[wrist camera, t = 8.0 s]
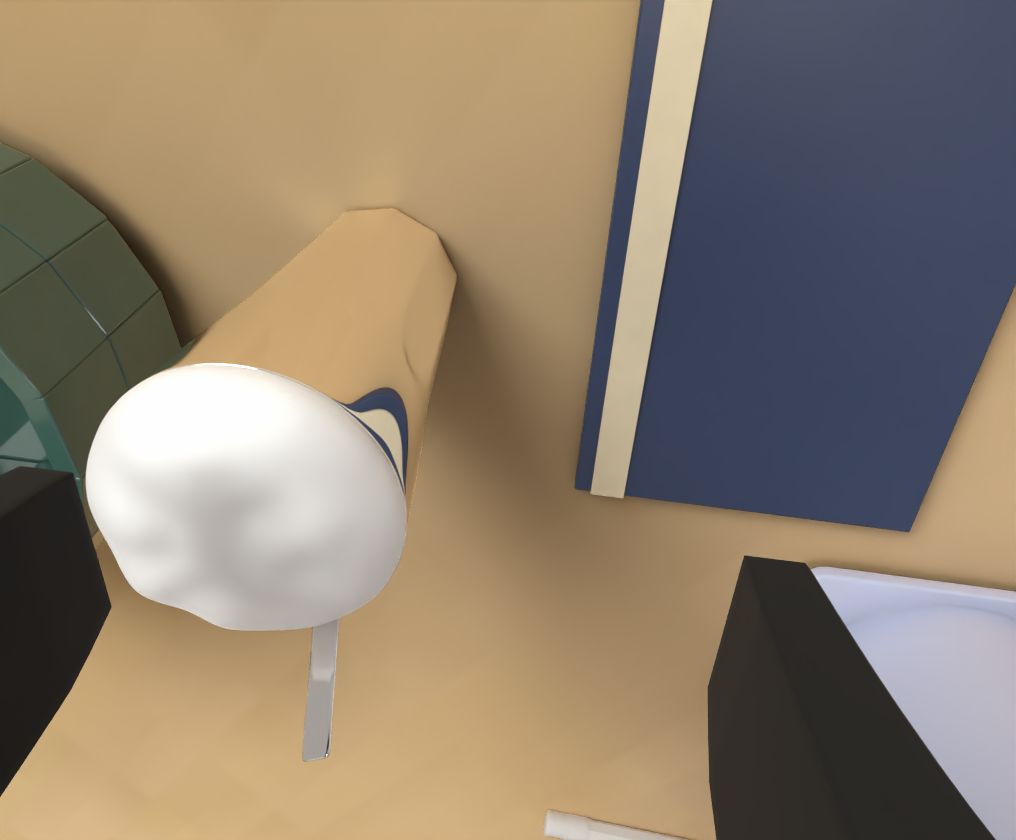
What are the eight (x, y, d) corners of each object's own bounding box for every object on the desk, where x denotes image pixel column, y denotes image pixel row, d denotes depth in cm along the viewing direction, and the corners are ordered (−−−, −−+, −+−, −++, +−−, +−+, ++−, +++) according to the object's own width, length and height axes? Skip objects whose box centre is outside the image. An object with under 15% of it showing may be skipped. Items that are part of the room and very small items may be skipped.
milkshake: (363, 417, 21) (186, 783, 13) (244, 220, 19) (-72, 517, 10) (533, 361, 20) (460, 735, 11) (430, 140, 17) (235, 412, 9)
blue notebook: (905, 522, 21) (910, 535, 20) (575, 479, 21) (573, 492, 21) (1240, -271, 12) (1261, -275, 12) (682, -308, 13) (684, -313, 13)
